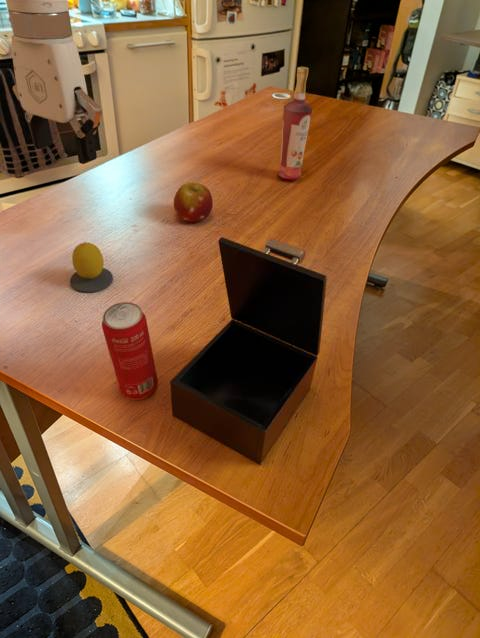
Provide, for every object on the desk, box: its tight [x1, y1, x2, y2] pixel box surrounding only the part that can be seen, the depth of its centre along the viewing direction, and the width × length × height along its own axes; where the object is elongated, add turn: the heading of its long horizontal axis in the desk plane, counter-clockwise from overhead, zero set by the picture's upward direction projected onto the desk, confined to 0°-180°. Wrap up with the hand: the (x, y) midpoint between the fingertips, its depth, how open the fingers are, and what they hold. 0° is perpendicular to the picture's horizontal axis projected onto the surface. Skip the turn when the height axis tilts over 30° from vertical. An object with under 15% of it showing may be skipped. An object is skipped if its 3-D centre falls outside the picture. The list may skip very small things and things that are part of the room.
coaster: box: [69, 267, 114, 294], centre depth 89 cm, size 8×8×1 cm
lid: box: [217, 236, 328, 357], centre depth 63 cm, size 16×15×5 cm
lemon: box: [71, 241, 105, 279], centre depth 86 cm, size 6×6×8 cm
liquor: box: [277, 66, 313, 182], centre depth 121 cm, size 7×7×28 cm
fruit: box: [173, 181, 214, 223], centre depth 107 cm, size 10×9×8 cm
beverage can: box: [101, 301, 158, 401], centre depth 65 cm, size 6×6×15 cm
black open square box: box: [169, 318, 318, 466], centre depth 66 cm, size 16×15×7 cm
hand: (65, 153), depth 73 cm, fingers open, 9 cm apart
